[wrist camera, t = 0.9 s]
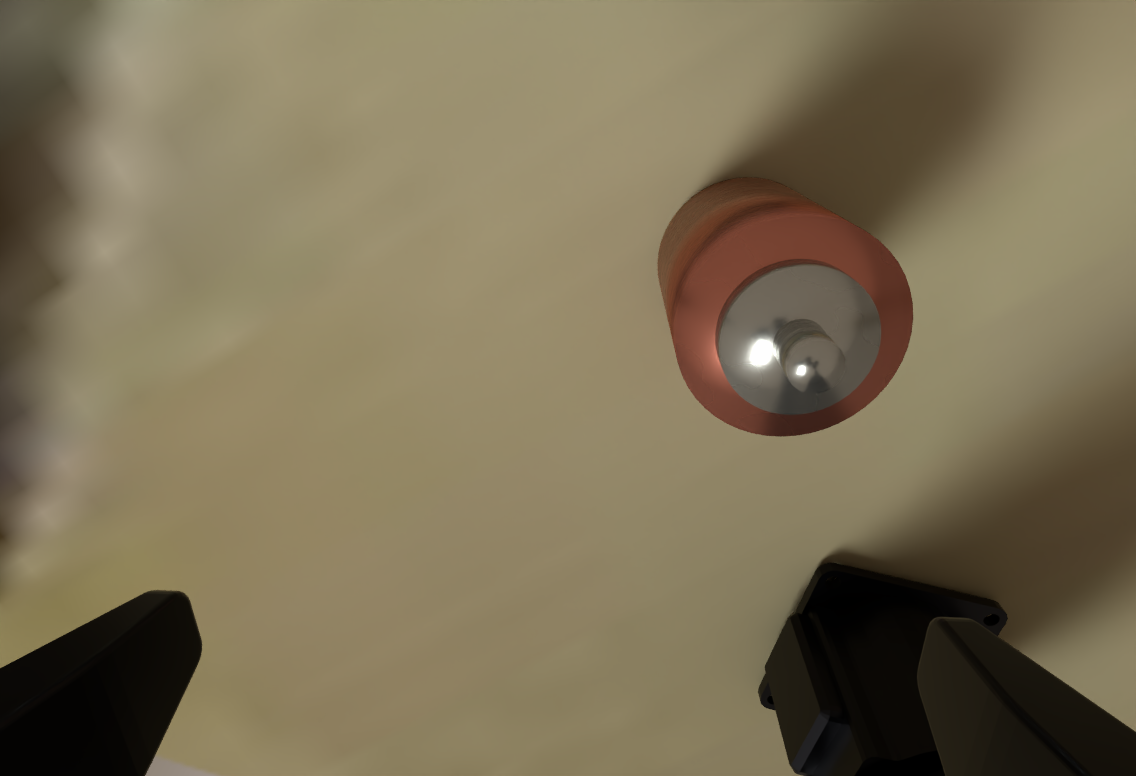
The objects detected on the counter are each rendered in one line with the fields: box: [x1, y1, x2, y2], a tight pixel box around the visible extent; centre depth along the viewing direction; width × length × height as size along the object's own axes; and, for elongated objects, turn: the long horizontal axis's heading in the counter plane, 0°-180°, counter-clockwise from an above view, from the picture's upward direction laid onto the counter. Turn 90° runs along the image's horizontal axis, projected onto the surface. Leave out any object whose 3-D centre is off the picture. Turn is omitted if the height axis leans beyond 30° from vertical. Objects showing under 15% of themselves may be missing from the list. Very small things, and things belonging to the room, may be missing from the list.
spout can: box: [658, 177, 913, 436], centre depth 15 cm, size 5×5×8 cm
